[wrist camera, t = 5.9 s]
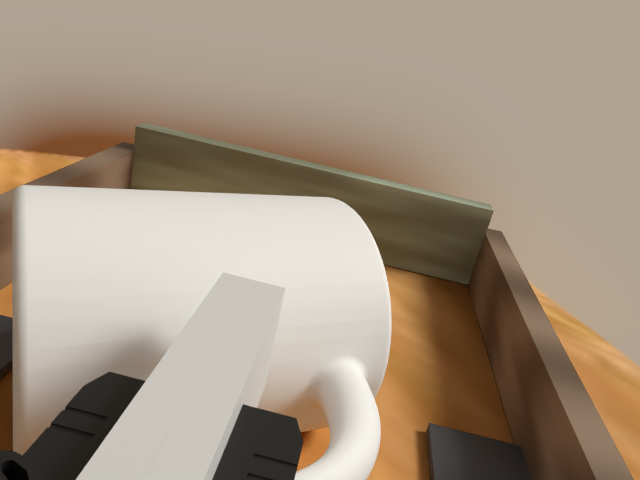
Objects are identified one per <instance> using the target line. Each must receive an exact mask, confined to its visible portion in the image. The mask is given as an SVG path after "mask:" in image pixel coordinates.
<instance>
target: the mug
mask: <svg viewBox="0 0 640 480" xmlns="http://www.w3.org/2000/svg"><path fill="white" fill-rule="evenodd" d="M223 272H224V273H228V274H232V275H236V276H240V277H244V278H248V279H252V280H256V281H260V282H264V283H268V284H272V285H276V286H280V287H284V288H285V293H284V298H283V303H282V308H281V312H280V317H279V322H278V327H277V332H276V337H275V341H274V346H273V351H272V356H271V361H270V365H269V370H268V375H267V380H266V385H265V387H264V390H263V393H262V396H261V398H260V401H259V404H258V406H257V408H259V409H263V410H267V411H271V412H275V413H279V414H282V415H286V416H290V417H294V418H297V422H298V425H299V429H300V432H305V431H310V430H315V429H321V428H326V427H329V429H330V444H329V447H328V449H327V451H326V452H325V453H324V455H323V456H322V457H321V458H320V459H319V460H317V461H316V462H314V463H313V464H311V465H309V466H308V467H306V468H304V469H302V470H299V471H297V472H296V475H295V479H294V480H366V479H367V478H368V476H369V474H370V472H371V470H372V468H373V466H374V463H375V461H376V458H377V455H378V450H379V445H380V431H381V429H380V419H379V413H378V409H377V406H376V402H375V399H374V398H375V397H376V395H377V393H378V391H379V388H380V386H381V383H382V381H383V378H384V375H385V371H386V367H387V363H388V357H389V352H390V343H391V302H390V293H389V287H388V281H387V276H386V272H385V268H384V264H383V261H382V258H381V255H380V252H379V249H378V247H377V244H376V242H375V240H374V238H373V236H372V234H371V232H370V230H369V229H368V227H367V225H366V224H365V223H364V221H363V220H362V218H361V217H360V216H359V215H358V214H357V213H356V212H355V211H354V210H353V209H352V208H351V207H350V206H348V205H347V204H345V203H344V202H342V201H340V200H337V199H334V198H330V197H310V196H285V195H260V194H235V193H210V192H185V191H160V190H135V189H110V188H85V187H60V186H35V185H21V186H19V187H17V188H16V189H15V190H14V192H13V208H12V303H13V451H14V452H17V453H19V454H21V455H23V454H24V453H25V452H26V451H27V450H28V449H29V448H30V446H31V445H32V444H33V443H34V442H35V441H36V440H37V438H38V437H39V436H40V435H41V434H42V433H43V432H44V430H45V429H46V428H47V427H50V425H51V422H52V421H53V420H54V419H55V418H56V417H57V416H58V414H59V413H60V412H61V411H62V410H65V408H66V405H67V404H68V403H69V402H70V401H71V400H72V398H73V397H74V396H75V395H76V394H77V393H78V392H79V390H80V389H81V388H82V387H83V386H84V385H86V384H88V383H89V382H91V381H93V380H95V379H97V378H99V377H100V376H102V375H104V374H106V373H108V372H113V373H117V374H121V375H125V376H128V377H132V378H136V379H140V380H144V381H146V380H147V379H148V377H149V376H150V374H151V373H152V372H153V370H154V369H155V367H156V366H157V365H158V363H159V362H160V360H161V359H162V358H163V356H164V355H165V353H166V352H167V351H168V349H169V348H170V346H171V345H172V343H173V342H174V341H175V339H176V338H177V336H178V335H179V334H180V332H181V331H182V329H183V328H184V327H185V325H186V324H187V322H188V321H189V320H190V318H191V317H192V315H193V314H194V313H195V311H196V310H197V308H198V307H199V305H200V304H201V303H202V301H203V300H204V298H205V297H206V296H207V294H208V293H209V291H210V290H211V289H212V287H213V286H214V284H215V283H216V282H217V280H218V279H219V277H220V276H221V275H222V273H223Z"/></svg>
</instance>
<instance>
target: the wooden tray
mask: <svg viewBox="0 0 640 480" xmlns="http://www.w3.org/2000/svg"><path fill="white" fill-rule="evenodd" d="M135 131H136V132H135V142H134V144H130V143H126V142H123V143H120V144H118V145H116V146H113V147H111V148H109V149H106V150H104V151H102V152H99V153H97V154H94V155H92V156H90V157H87V158H85V159H83V160H80V161H78V162H76V163H73V164H71V165H69V166H66V167H64V168H62V169H59V170H57V171H55V172H52V173H50V174H48V175H45V176H43V177H41V178H38V179H36V180H34V181H31V182H29V183H27V184H24V185H35V186H60V187H85V188H110V189H135V190H160V191H185V192H210V193H235V194H260V195H285V196H310V197H330V198H334V199H337V200H340V201H342V202H344V203H345V204H347V205H348V206H350V207H351V208H352V209H353V210H354V211H355V212H356V213H357V214H358V215H359V216H360V217H361V218H362V220H363V221H364V223H365V224H366V225H367V227H368V229H369V230H370V232H371V234H372V236H373V238H374V240H375V242H376V244H377V247H378V249H379V252H380V255H381V258H382V261H383V264H384V265H388V266H392V267H396V268H400V269H404V270H408V271H412V272H417V273H421V274H425V275H429V276H433V277H437V278H441V279H445V280H450V281H454V282H458V283H462V284H466V285H468V287H469V291H470V294H471V297H472V301H473V304H474V308H475V311H476V314H477V318H478V321H479V325H480V328H481V332H482V335H483V338H484V342H485V345H486V349H487V352H488V355H489V359H490V362H491V366H492V369H493V373H494V376H495V379H496V383H497V386H498V390H499V393H500V396H501V400H502V403H503V407H504V410H505V414H506V417H507V420H508V424H509V427H510V431H511V434H512V437H513V441H514V444H511V443H507V442H503V441H499V440H495V439H491V438H487V437H483V436H479V435H475V434H471V433H467V432H463V431H459V430H455V429H451V428H447V427H443V426H439V425H435V424H431V423H429V425H428V428H427V431H426V433H427V445H428V457H429V469H430V480H634V479H633V477H632V475H631V473H630V471H629V469H628V468H627V466H626V464H625V462H624V460H623V458H622V456H621V454H620V453H619V451H618V449H617V447H616V445H615V443H614V441H613V439H612V438H611V436H610V434H609V432H608V430H607V428H606V426H605V424H604V423H603V421H602V419H601V417H600V415H599V413H598V411H597V409H596V408H595V406H594V404H593V402H592V400H591V398H590V396H589V394H588V393H587V391H586V389H585V387H584V385H583V383H582V381H581V380H580V378H579V376H578V374H577V372H576V370H575V368H574V366H573V365H572V363H571V361H570V359H569V357H568V355H567V353H566V351H565V350H564V348H563V346H562V344H561V342H560V340H559V338H558V336H557V335H556V333H555V331H554V329H553V327H552V325H551V323H550V321H549V320H548V318H547V316H546V314H545V312H544V310H543V308H542V306H541V305H540V303H539V301H538V299H537V297H536V295H535V293H534V291H533V290H532V288H531V286H530V284H529V282H528V280H527V278H526V277H525V275H524V273H523V271H522V269H521V267H520V265H519V263H518V261H517V260H516V258H515V256H514V254H513V252H512V251H511V249H510V247H509V245H508V243H507V241H506V239H505V237H504V235H503V233H502V232H501V231H496V230H492V229H488V225H489V223H490V220H491V217H492V214H493V209H492V207H491V205H489V204H485V203H481V202H476V201H472V200H468V199H464V198H460V197H455V196H451V195H447V194H443V193H438V192H434V191H430V190H426V189H422V188H417V187H413V186H409V185H405V184H400V183H396V182H392V181H387V180H383V179H379V178H375V177H371V176H366V175H362V174H358V173H353V172H349V171H345V170H341V169H336V168H333V167H328V166H324V165H320V164H315V163H311V162H307V161H303V160H298V159H294V158H290V157H286V156H281V155H277V154H273V153H269V152H265V151H260V150H256V149H252V148H248V147H243V146H239V145H235V144H231V143H226V142H222V141H217V140H214V139H210V138H205V137H201V136H197V135H193V134H189V133H184V132H180V131H175V130H171V129H167V128H163V127H159V126H154V125H150V124H146V123H143V124H140V125H138V126H136V130H135ZM15 189H16V188H15ZM15 189H13V190H10V191H8V192H5V193H3V194H1V195H0V289H2V288H3V287H5V286H6V285H8V284H9V283H11V282H12V208H13V192H14V190H15ZM12 368H13V318H11V317H7V316H3V315H0V379H1V378H2V377H3V376H4V375H5V374H7V373H8V372H9V371H10V370H11V369H12Z"/></svg>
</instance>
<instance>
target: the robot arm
mask: <svg viewBox="0 0 640 480" xmlns="http://www.w3.org/2000/svg"><path fill="white" fill-rule="evenodd" d="M284 293H285V288H284V287H280V286H276V285H272V284H268V283H264V282H260V281H256V280H252V279H248V278H244V277H240V276H236V275H232V274H228V273H224V272H223V273H222V275H221V276H220V277H219V279H218V280H217V282H216V283H215V284H214V286H213V287H212V289H211V290H210V291H209V293H208V294H207V296H206V297H205V298H204V300H203V301H202V303H201V304H200V305H199V307H198V308H197V310H196V311H195V313H194V314H193V315H192V317H191V318H190V320H189V321H188V322H187V324H186V325H185V327H184V328H183V329H182V331H181V332H180V334H179V335H178V336H177V338H176V339H175V341H174V342H173V343H172V345H171V346H170V348H169V349H168V351H167V352H166V353H165V355H164V356H163V358H162V359H161V360H160V362H159V363H158V365H157V366H156V367H155V369H154V370H153V372H152V373H151V374H150V376H149V377H148V379H147V380H146V381H144V380H140V379H136V378H132V377H128V376H125V375H121V374H117V373H113V372H108V373H106V374H104V375H102V376H100V377H99V378H97V379H95V380H93V381H91V382H89V383H88V384H86V385H84V386H83V387H82V388H81V389H80V390H79V392H78V393H77V394H76V395H75V396H74V397H73V398H72V400H71V401H70V402H69V403H68V404H67V405H66V408H65V410H62V411H61V412H60V413H59V414H58V416H57V417H56V418H55V419H54V420H53V421H52V422H51V425H50V427H47V428H46V429H45V430H44V432H43V433H42V434H41V435H40V436H39V437H38V438H37V440H36V441H35V442H34V443H33V444H32V445H31V446H30V448H29V449H28V450H27V451H26V452H25V453H24V454H23V455H21V454H19V453H17V452H14V451H6V450H0V480H294V479H295V475H296V470H297V466H298V462H299V457H300V453H301V448H302V444H303V439H302V435H301V432H300V429H299V425H298V422H297V418H294V417H290V416H286V415H282V414H279V413H275V412H271V411H267V410H263V409H259V408H257V406H258V404H259V401H260V398H261V396H262V393H263V390H264V387H265V385H266V380H267V375H268V370H269V365H270V361H271V356H272V351H273V346H274V341H275V337H276V332H277V327H278V322H279V317H280V312H281V308H282V303H283V298H284Z"/></svg>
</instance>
